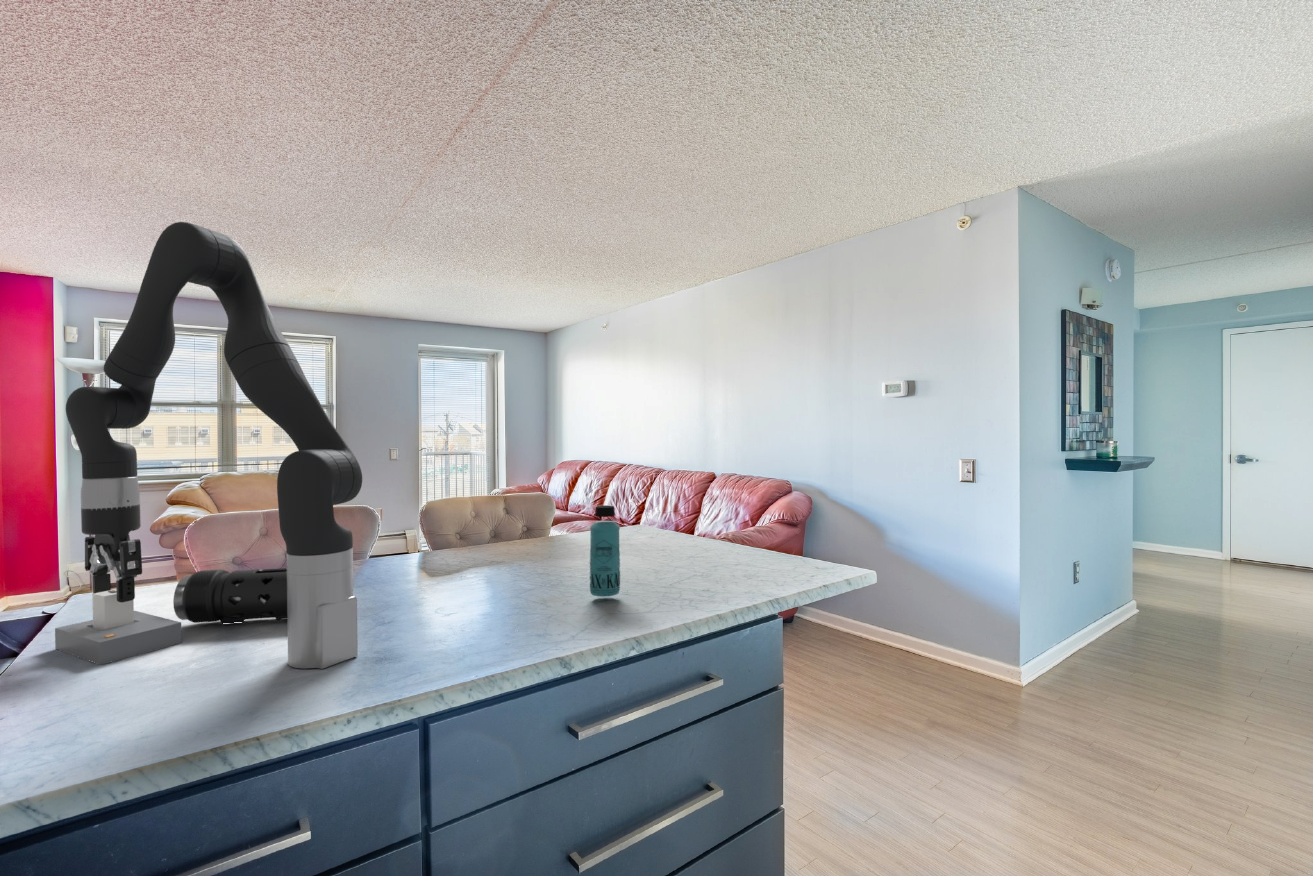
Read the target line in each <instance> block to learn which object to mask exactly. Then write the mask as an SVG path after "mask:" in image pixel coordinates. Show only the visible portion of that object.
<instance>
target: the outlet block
mask: <svg viewBox="0 0 1313 876" xmlns="http://www.w3.org/2000/svg"><path fill="white" fill-rule="evenodd" d="M54 637H55V638H54V643H55V648H54V649H55V650H57V649H59V650H58V651H60V650H61V651H60V652H63V651H64V652H63V653H65V652H66V654H68V653H69V655H71V654H73V655H72V656H74V655H75V656H74V657H77V656H79V657H80V659H82V658H84V659H83V660H85V659H86V661H88V660H90V661H89V662H91V661H93V662H95V663H94V664H96V663H98V664H97V665H99V666H101V665H104V663H105V664H108V663H111V661H113V662H115V661H119V660H123V659H127V658H130V657H131V658H132V657H134V656H139V655H141V654H142V655H143V654H145V653H149V652H153V651H157V650H160V649H163V648H168V647H171V646H173V645H179V644H182V642H183V641H182V622H181V621H176V620H173V619H170V618H166V617H165V618H164V617H161V616H157V615H154V614H150V613H145V612H143V611H138V610H134V623H131V624H127V625H122V626H118V627H114V628H109V629H105V630H101V631H100V630H97V629H94V628H93V619H91V620H87V621H81V622H78V623H72V624H68V625H64V626H58V627H55V628H54ZM170 645H171V646H170ZM156 649H157V650H156ZM79 657H78V658H79ZM93 662H92V663H93Z"/></svg>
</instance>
